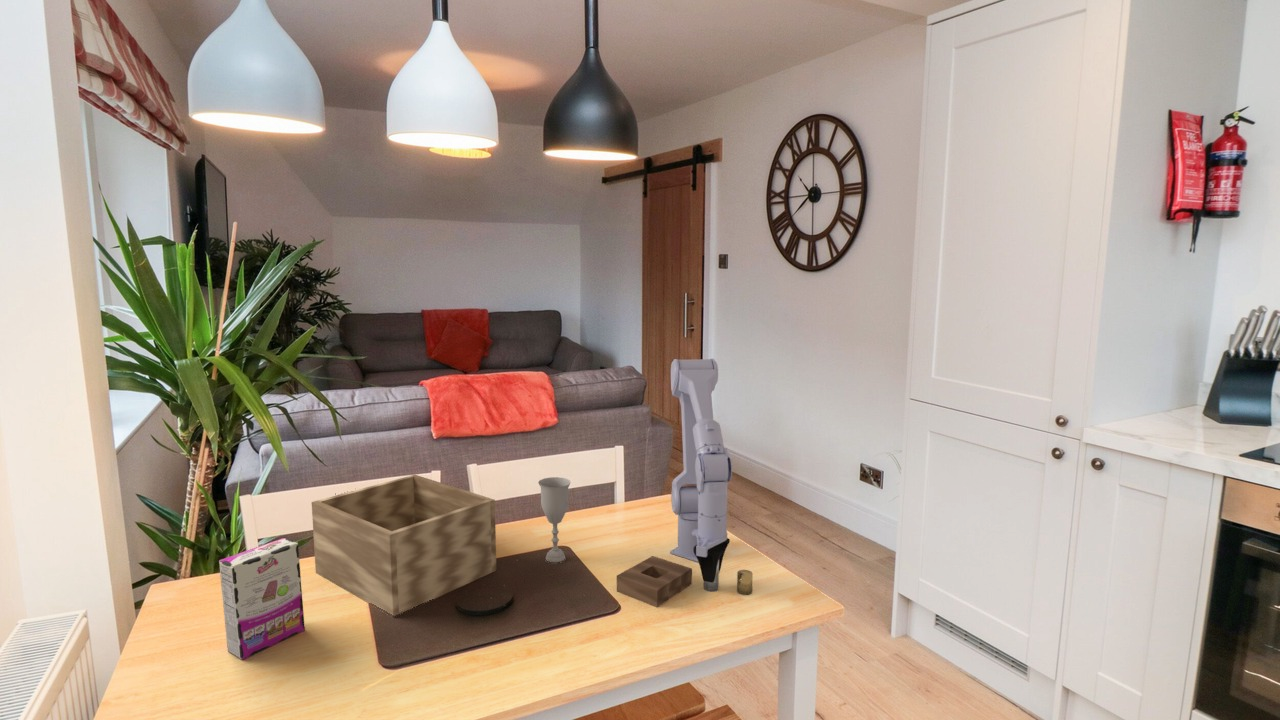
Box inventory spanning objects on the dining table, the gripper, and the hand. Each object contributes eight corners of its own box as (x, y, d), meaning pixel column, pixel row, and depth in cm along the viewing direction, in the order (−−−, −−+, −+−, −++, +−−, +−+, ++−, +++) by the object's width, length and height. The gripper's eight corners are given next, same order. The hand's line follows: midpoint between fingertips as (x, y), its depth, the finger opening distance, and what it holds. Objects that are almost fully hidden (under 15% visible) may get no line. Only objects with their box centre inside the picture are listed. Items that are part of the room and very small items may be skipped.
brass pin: (741, 587, 136) (742, 568, 136) (754, 591, 135) (755, 572, 134) (734, 592, 134) (734, 573, 134) (747, 597, 132) (748, 577, 132)
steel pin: (708, 583, 138) (709, 551, 137) (721, 588, 136) (721, 555, 135) (700, 589, 135) (701, 556, 134) (713, 593, 133) (714, 560, 133)
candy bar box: (289, 623, 121) (284, 536, 119) (305, 631, 119) (300, 542, 117) (224, 652, 112) (217, 558, 110) (240, 661, 109) (233, 565, 107)
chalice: (578, 561, 148) (577, 482, 146) (554, 570, 143) (553, 489, 141) (556, 551, 153) (555, 475, 151) (532, 560, 148) (531, 482, 146)
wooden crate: (417, 539, 160) (414, 474, 158) (496, 572, 142) (494, 499, 140) (315, 575, 140) (311, 502, 138) (393, 618, 123) (389, 535, 121)
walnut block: (652, 571, 143) (652, 555, 143) (691, 584, 137) (691, 568, 137) (616, 592, 134) (616, 575, 133) (657, 607, 128) (657, 590, 127)
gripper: (703, 498, 142) (702, 559, 143) (681, 521, 128) (680, 589, 130) (736, 503, 139) (735, 565, 141) (717, 527, 126) (715, 595, 127)
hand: (711, 577), depth 135 cm, fingers closed on steel pin, 3 cm apart
